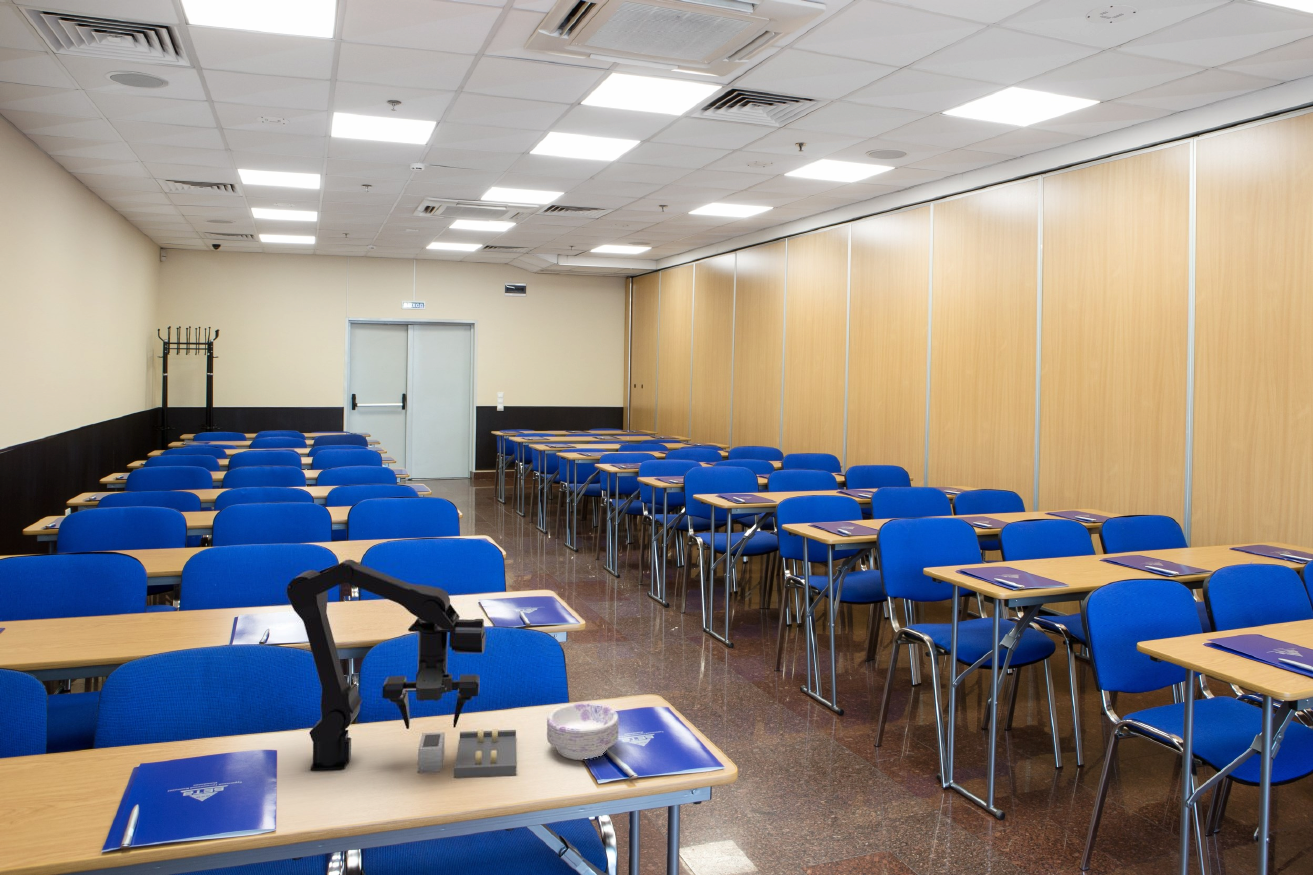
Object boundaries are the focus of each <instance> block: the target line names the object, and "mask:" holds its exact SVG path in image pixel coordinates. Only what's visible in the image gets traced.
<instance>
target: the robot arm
mask: <svg viewBox="0 0 1313 875" xmlns="http://www.w3.org/2000/svg"><path fill="white" fill-rule="evenodd" d="M342 584H348V585H351V586H353V587H355V588H358V589H361V590H362V591H366V592H368V593H371V594H373V595H376V596H379V597H381V598H383V599H386V600H389V601H392V602H393V603H395V604H398V605H400V606H402V607H404V609H405V610H406V611H407V612H409V614H411V615H413V616H415V617H416V619H415V621H414V622H413V623H412V624H411V625H410V626H409V628H408V629H407V631H408V632H410V633H411V632H413V633H418V640H417V642H418V645H417V646H418V648H417V654H418V655H417V672H416V676H415V681H407V676H406V675H398V676H397V675H395V676H393V675H392V676H388V677H387V678H385V680H384V682H383V685H382V699H385V700H389V703H394V704H396V705H397V707H398V709H399V711H400V714H401V717H402V719H403V721H404V722H403V723H404V726H405V728H406V730H409V729H410V723H411V722H410V718H411V717H410V705H409V692H415V693H416V694H415V696H416V701H418V702H424V701H433V702H436V701H437V702H438V701H440V700H442V698H443V694H447V693H451V692H453V691H458V692H457V696H456V697H457V698H456V703H455V711H454V716H453V728H454V729H455V728H456V727H457V724H458V721H459V718H460V716H461V713H462V710H463V708H464V706H465V704H466V703H467V701H471V700H472V699H473V697H475V698H476V697H478V696H479V694H480V679H481V678H480V676H479V675H478V674H460V675H459V679H458V680H453V673H448V646H449V648H451V651H453V652H454V653H455V654H484V652H485V647H486V638H487V637H486V636H487V634H486V631H485V630H486V627H485V620H484V618H475V619H464V618H463V619H460V618H461V617H460V615H459V613H458V612H457V611H456V609H455V608H454V607H453V605H452V604H451V599H450V596H449V593H448V592H447V591H446V590H445V589H443V588H441V587H437V586H436V587H435V586H431V585H426V584H414V583H409V582H407V581H404V580H401V579H398V578H396V577H393V576H391V575H388V574H385V573H384V572H381V571H378V570H376V569H373V568H371V567H368V566H366V565H363V564H361V563H358V562H356V561H355V560H354V559H350V558H349V559H345V560H343V561H341V562H340V563H337V564H334V565H332V566H329V567H326V568H324V569H321V570H319V571H317V570H313V569H311V570H306V571H304V572H302V573H301V574H299V575H297V576H296V577H294V578H292V580H291V581H290V582H289V583H288V585H287V586H286V591H285V592H286V596H287V598H288V601H289V603H290V605H291V607H292V609H293V611H294V612H295V613H296V615H297V616H298V617H299V618H300V619H301V620H302V622H303V625H304V629H305V633H306V636H307V639H308V643H309V648H310V651H311V653H312V658H313V661H314V665H315V668H316V672H317V675H318V676H317V677H318V680H319V683H320V686H321V688H320V689H321V694H320V718H319V720H318V721H317V722H316V724H315V725H314V726H313V727H312V729H311V730H309V736H310V738H311V741H312V764H311V765H310V771H327V770H328V771H330V770H344V769H345V768H346V766H347V764H348V763H349V762H350V760H351V757H352V738H351V737H349V729H347V728H349V727H350V725H351V724H352V723H353V721H354V720H355V718H356V717H357V716H358V714H359V712H360V709H361V704H362V702H363V699H362V698H361V696H360V694H359V686H358V683H353V684H351V685H350V683H349V682H348V681H347V680H346V678H345V676H344V672H343V668H342V665H341V662H340V661H341V660H340V657H339V653H338V650H337V647H336V643H335V638H334V636H333V632H332V627H331V624H330V621H329V618H328V614H327V610H328V597H329V594H328V591H329V590H331V589H333V588H336V587H338V586H340V585H342ZM448 633H449V634H448ZM448 635H449V639H448ZM448 643H449V645H448Z"/></svg>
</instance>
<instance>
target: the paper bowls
mask: <svg viewBox="0 0 1313 875" xmlns="http://www.w3.org/2000/svg"><path fill="white" fill-rule="evenodd" d="M619 719H620V717H619V714H618V712H616V710H615V709H613V708H611V707H609V706H606V705H602V704H597V703H590V702H588V703H587V702H581V703H571V704H566V705H562V706H560V707H559V706H558V707H557V708H555V709H553V710H552V711H550V712H549V714H548V716H547V718H546V739H547V743H548V744H549V745H550V746H552V747H554V748H556V750H557V752H558V753H559V754H560V755H561V756H562V757H564V758H567V759H570V760H574V761H584V760H583V759H585V758H593V757H597V758H599V757H598V756H600V757H602V755H604V754H605V753H606V752H607V751H606V750H608V749H609V748H611V747H612V746H614V745H615V744H616V742H617V741H618V739H619V725H620V724H619ZM605 751H606V752H605ZM604 752H605V753H604ZM603 753H604V754H603Z"/></svg>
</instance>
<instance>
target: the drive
mask: <svg viewBox="0 0 1313 875" xmlns="http://www.w3.org/2000/svg"><path fill="white" fill-rule="evenodd" d="M445 736H446V734H445V732H439V731H438V732H423V733H421V737H420V742H419V745H418V748H417V749H418V750H417V773H418V774H429V773H430V774H432V773H442V770H443V765H444V759H445V743H446V742H445V741H446V740H445V738H446V737H445Z"/></svg>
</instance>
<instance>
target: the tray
mask: <svg viewBox="0 0 1313 875" xmlns="http://www.w3.org/2000/svg"><path fill="white" fill-rule="evenodd" d="M458 740H459V741H458V747H457V752H456V753H457V754H456V759H455V765H454V769H453V770H454V774H453V778H454V779H460V778H461V779H463V778H487V777H509V776H517V730H516V729H501V730H500V729H499V730H498V728H497V729H496V728H495V729H492V730H483V729H478V730H476V731H475V730H474V731H473V730H471V731H468V730H467V731H459V739H458Z"/></svg>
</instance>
